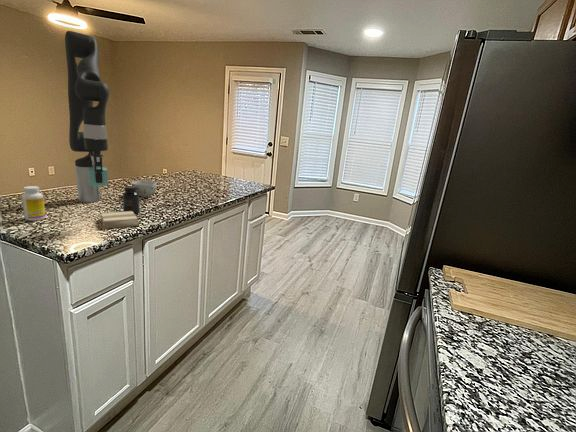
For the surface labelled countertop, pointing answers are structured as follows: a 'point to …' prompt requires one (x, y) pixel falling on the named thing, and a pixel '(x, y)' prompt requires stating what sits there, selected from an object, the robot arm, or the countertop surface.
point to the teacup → (145, 187)
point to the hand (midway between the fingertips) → (98, 180)
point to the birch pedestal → (119, 219)
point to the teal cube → (93, 179)
